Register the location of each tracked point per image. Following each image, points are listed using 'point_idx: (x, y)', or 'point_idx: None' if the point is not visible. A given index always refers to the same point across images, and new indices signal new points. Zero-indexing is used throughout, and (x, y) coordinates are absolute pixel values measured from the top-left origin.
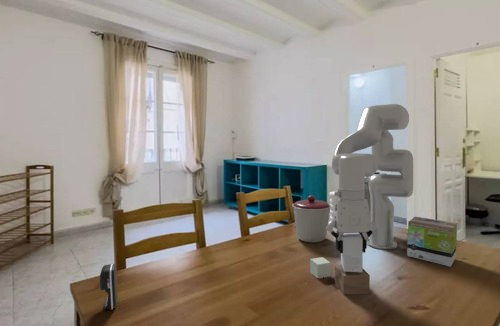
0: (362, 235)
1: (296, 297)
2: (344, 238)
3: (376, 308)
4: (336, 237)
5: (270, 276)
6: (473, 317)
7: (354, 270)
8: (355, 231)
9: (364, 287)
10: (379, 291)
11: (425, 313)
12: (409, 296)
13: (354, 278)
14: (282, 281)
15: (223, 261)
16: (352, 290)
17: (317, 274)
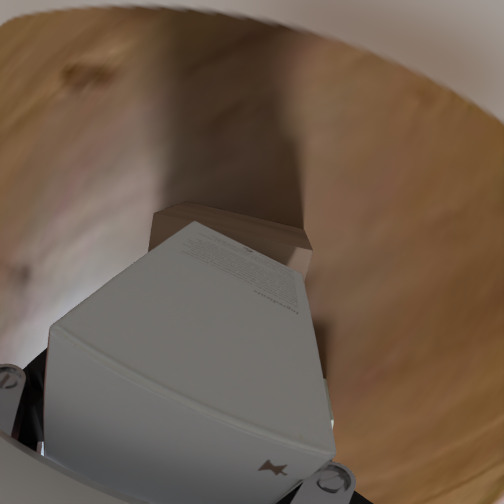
0: (27, 432)
1: (477, 268)
2: (323, 450)
3: (232, 92)
4: (351, 499)
5: (458, 414)
6: (15, 30)
7: (239, 243)
8: (86, 497)
9: (200, 210)
10: (133, 208)
11: (94, 42)
12: (61, 147)
13: (246, 231)
14: (451, 381)
15: (485, 481)
16: (261, 222)
17: (327, 390)
